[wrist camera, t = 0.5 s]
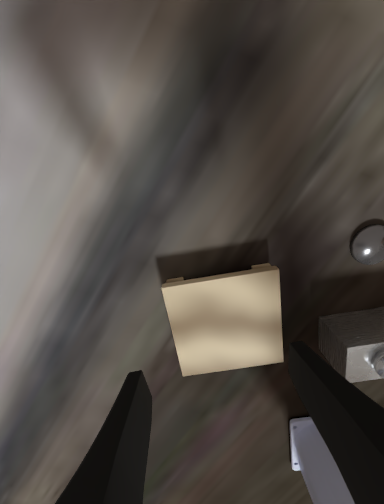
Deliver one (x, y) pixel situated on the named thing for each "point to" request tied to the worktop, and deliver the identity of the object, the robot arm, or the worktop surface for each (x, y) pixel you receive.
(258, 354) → the stand
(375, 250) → the round metal disc
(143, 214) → the worktop surface
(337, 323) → the housing
